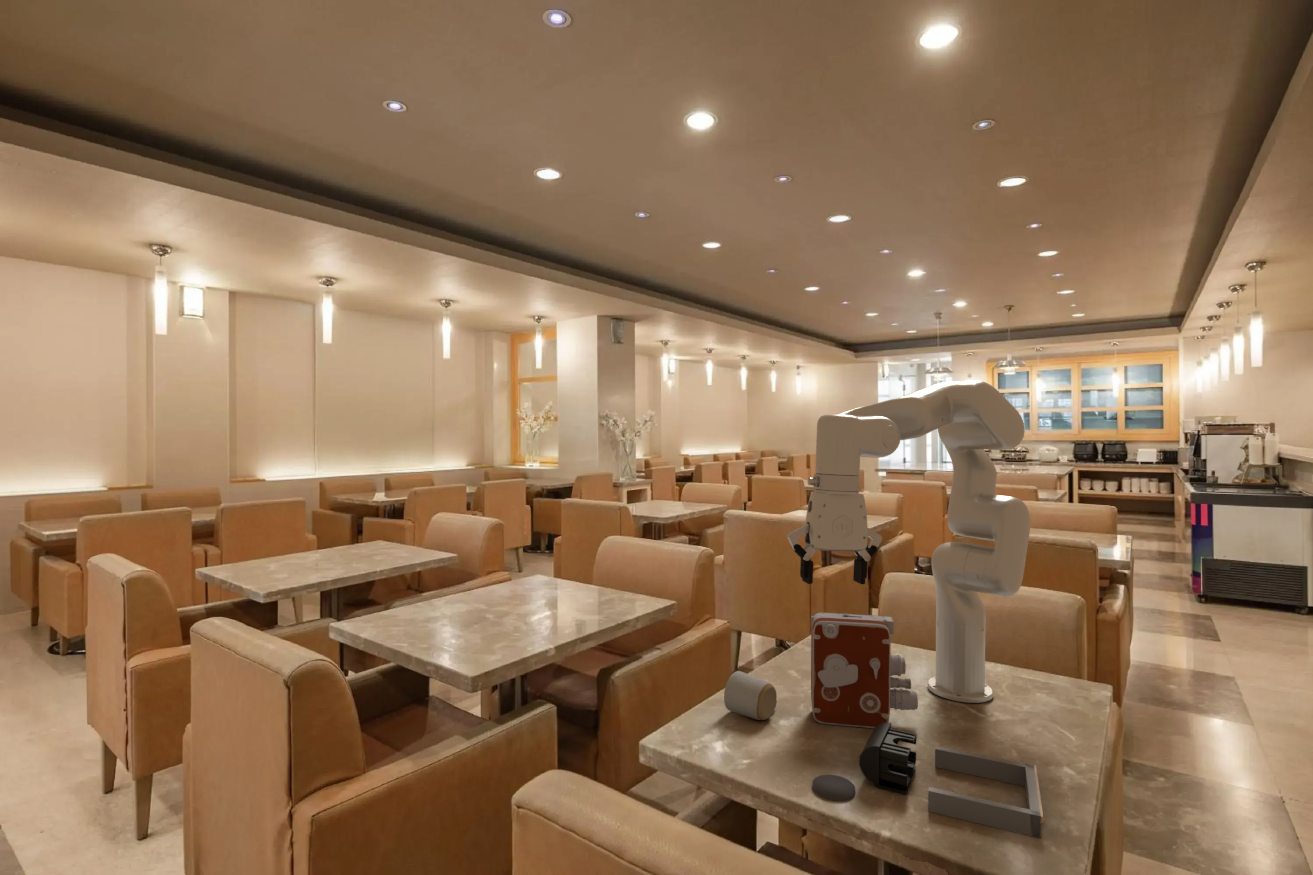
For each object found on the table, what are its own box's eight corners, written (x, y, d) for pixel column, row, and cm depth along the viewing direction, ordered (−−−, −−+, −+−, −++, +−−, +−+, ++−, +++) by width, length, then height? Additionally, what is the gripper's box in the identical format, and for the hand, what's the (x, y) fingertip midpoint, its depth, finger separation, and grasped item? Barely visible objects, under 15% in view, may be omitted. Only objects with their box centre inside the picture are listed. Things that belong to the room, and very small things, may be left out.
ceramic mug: (759, 727, 124) (760, 686, 124) (722, 715, 129) (723, 675, 129) (786, 710, 132) (787, 671, 132) (750, 699, 137) (751, 662, 137)
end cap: (872, 757, 113) (872, 718, 112) (916, 768, 109) (916, 727, 109) (858, 785, 104) (858, 742, 104) (906, 797, 100) (906, 753, 100)
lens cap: (817, 777, 107) (817, 770, 107) (858, 786, 104) (858, 780, 104) (807, 796, 101) (808, 790, 101) (851, 807, 98) (851, 800, 98)
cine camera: (921, 736, 120) (922, 626, 120) (811, 726, 124) (812, 620, 124) (912, 715, 129) (913, 613, 129) (810, 706, 133) (810, 607, 133)
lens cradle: (935, 763, 110) (935, 745, 110) (1035, 784, 104) (1035, 765, 104) (928, 811, 97) (928, 790, 97) (1043, 838, 90) (1043, 816, 90)
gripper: (797, 484, 112) (794, 586, 111) (893, 487, 114) (890, 587, 114) (782, 482, 119) (778, 577, 119) (872, 485, 122) (869, 578, 122)
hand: (833, 582), depth 116 cm, fingers open, 9 cm apart
